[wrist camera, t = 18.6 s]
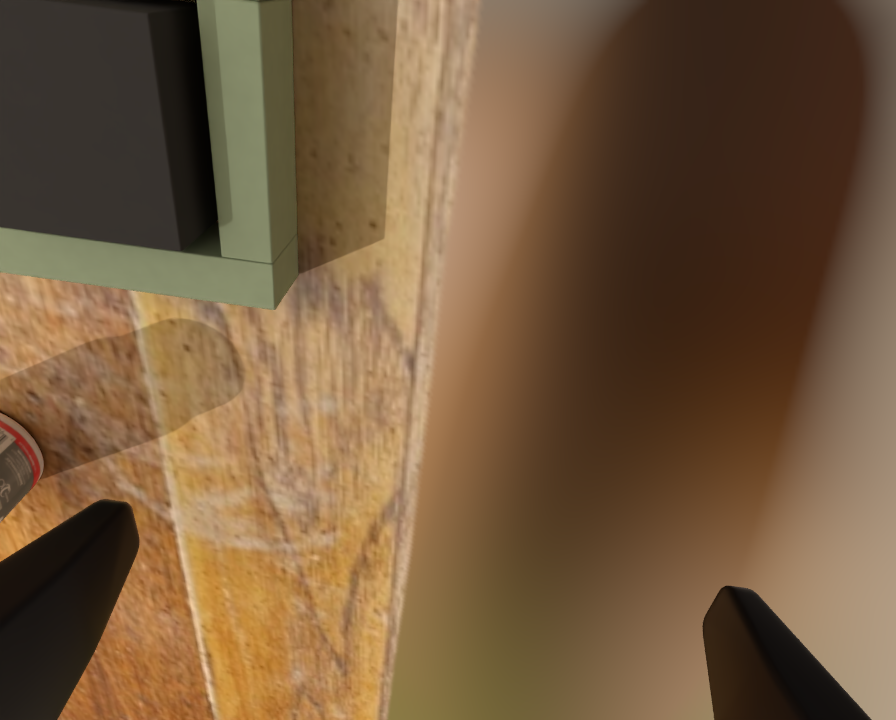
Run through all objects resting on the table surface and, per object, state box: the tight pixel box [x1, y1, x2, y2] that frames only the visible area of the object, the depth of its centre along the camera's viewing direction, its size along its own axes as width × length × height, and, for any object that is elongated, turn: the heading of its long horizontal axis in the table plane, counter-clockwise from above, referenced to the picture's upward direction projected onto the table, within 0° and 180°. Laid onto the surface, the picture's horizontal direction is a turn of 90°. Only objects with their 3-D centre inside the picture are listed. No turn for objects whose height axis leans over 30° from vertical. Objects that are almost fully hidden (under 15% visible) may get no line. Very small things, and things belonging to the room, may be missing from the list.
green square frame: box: [0, 0, 298, 310], centre depth 17 cm, size 10×10×2 cm
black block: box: [0, 0, 218, 251], centre depth 16 cm, size 6×6×4 cm
